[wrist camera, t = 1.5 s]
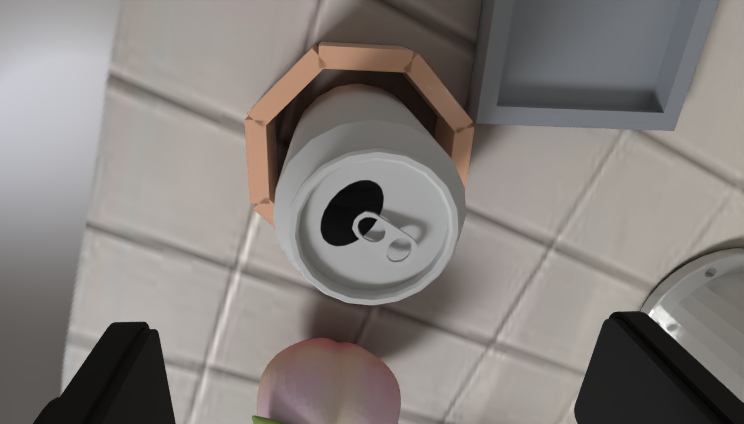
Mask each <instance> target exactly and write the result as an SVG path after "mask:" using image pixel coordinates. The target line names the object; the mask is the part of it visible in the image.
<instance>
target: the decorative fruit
mask: <svg viewBox="0 0 744 424" xmlns="http://www.w3.org/2000/svg"><path fill="white" fill-rule="evenodd" d="M400 406H401V397H400V389H399V385H398V382H397V380H396V378H395V376H394V374H393V373H392V371H391V370H390V369H389V368H388V366H387V365H386V364H385V363H384V362H383V361H381V360H380V359H379V358H378V357H376V356H375V355H374V354H372V353H371V352H369V351H368V350H366V349H364V348H363V347H361V346H359V345H356V344H353V343H350V342H342V343H337V342H335V341H333V340H331V339H328V338H314V339H309V340H305V341H302V342H299V343H296V344H294V345H292V346H290V347H288V348H286V349H284V350H283V351H281V352H280V353H279V354H277V355H276V356H275V357H274V358H273V359H272V360H271V361H270V363H269V364H268V365H267V367H266V369H265V370H264V372H263V374H262V377H261V380H260V384H259V390H258V398H257V416H252V420H253V423H254V424H398V420H399V415H400Z"/></svg>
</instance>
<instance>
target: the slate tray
mask: <svg viewBox="0 0 744 424" xmlns="http://www.w3.org/2000/svg"><path fill="white" fill-rule="evenodd" d="M718 2H719V0H482V7H481V14H480V21H479V28H478V35H477V42H476V49H475V56H474V63H473V70H472V77H471V84H470V91H469V98H468V105H467V112H466V113H467V115H468V116H469V117H470V119H471V120H472V121H473V122H474V123H476V124H498V125H526V126H554V127H582V128H610V129H638V130H666V131H674V130H675V127H676V124H677V121H678V118H679V115H680V112H681V110H682V107H683V104H684V101H685V98H686V95H687V92H688V89H689V86H690V83H691V80H692V77H693V75H694V72H695V69H696V66H697V63H698V60H699V57H700V54H701V51H702V48H703V45H704V42H705V40H706V37H707V34H708V31H709V28H710V25H711V22H712V19H713V16H714V13H715V10H716V7H717V5H718Z"/></svg>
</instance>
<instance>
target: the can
mask: <svg viewBox="0 0 744 424" xmlns="http://www.w3.org/2000/svg"><path fill="white" fill-rule="evenodd" d="M465 216H466V207H465V187H464V185H463V182H462V180H461V178H460V175H459V173H458V170H457V168H456V166H455V163H454V161H453V160H452V159H451V158H450V157H449V155H448V154H447V153H446V152H445V151H444V150H443V148H442V147H441V146H440V145H439V144H438V143H437V142H436V140H435V139H434V138H433V137H432V136H431V135H430V134H429V132H428V131H427V130H426V129H425V128H424V127H423V125H422V124H421V123H420V122H419V121H418V120H417V119H416V117H415V116H414V115H413V114H412V113H411V112H410V111H409V110H408V108H407V107H406V106H405V105H404V104H403V103H402V102H401V101H400V100H399V99H398V98H397V97H396V96H394V95H392V94H391V93H389V92H387V91H385V90H383V89H382V88H380V87H376V86H370V85H365V84H359V83H357V84H350V85H344V86H337V87H335V88H333V89H331V90H329V91H327V92H325V93H323V94H322V95H320V96H318V97H317V98H316V99H315V100H314V101H313V102H312V103H311V104H310V105H309V106H308V107H307V108H306V109H305V110H304V111H303V114H302V116H301V118H300V120H299V122H298V124H297V126H296V128H295V131H294V134H293V137H292V140H291V143H290V147H289V150H288V153H287V156H286V159H285V162H284V165H283V169H282V172H281V175H280V178H279V181H278V184H277V187H276V193H275V203H274V213H273V220H274V224H275V228H276V232H277V236H278V240H279V243H280V246H281V247H282V249H283V250H284V252H285V253H286V255H287V256H288V258H289V259H290V261H291V262H292V264H293V265H294V267H295V268H296V269H298V270H299V271H300V272H301V273H302V275H303V276H304V278H305V279H306V280H307V281H309V282H310V283H311V284H313V285H314V286H315V287H316V288H318V289H319V290H320V291H321V292H323V293H324V294H326V295H329V296H331V297H334V298H336V299H339V300H341V301H344V302H347V303H354V304H364V305H378V304H384V303H390V302H396V301H399V300H402V299H404V298H406V297H408V296H411V295H413V294H415V293H417V292H419V291H421V290H422V289H424V288H425V287H426V286H427V285H428V284H430V283H431V282H432V281H433V280H435V279H436V278H437V277H438V276H439V275H440V274H441V273H442V271H443V270H444V268H445V267H446V265H447V264H448V262H449V261H450V259H451V258H452V257H453V255H454V252H455V249H456V245H457V242H458V240H459V237H460V233H461V230H462V227H463V223H464V220H465Z"/></svg>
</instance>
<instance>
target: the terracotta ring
mask: <svg viewBox="0 0 744 424" xmlns="http://www.w3.org/2000/svg"><path fill="white" fill-rule="evenodd" d="M323 69H343V70H364V71H385V72H401V73H402V74H403V75H404V76H405V78H406V79H407V80H408V81H409V82H410V84H411V85H412V86H413V87H414V88H415V90H416V91H417V92H418V93H419V94H420V96H421V97H422V98H423V99H424V100H425V102H426V103H427V104H428V105H429V106H430V108H431V109H432V110H433V111H434V112H435V114H436V115H437V123H436V131H435V140H436V142H437V143H438V144H439V145H440V146H441V147H442V148H443V150H444V151H445V152H446V153H447V154H448V155H449V157H450V158H451V159H452V160H453V161H454V163H455V166H456V168H457V170H458V173H459V175H460V178H461V180H462V182H463V185H464V187H465V188H466V181H467V175H468V168H469V162H470V155H471V149H472V142H473V135H474V129H475V128H474V127H473V126H471V125H470V124H471V123H472V122H473V121H472V120H471V119H470V117H469V116H468V115H467V113H466V112H465V111H464V110H463V108H462V107H461V106H460V105H459V103H458V102H457V101H456V100H455V98H454V97H453V96H452V95H451V93H450V92H449V91H448V90H447V88H446V87H445V86H444V85H443V83H442V82H441V81H440V79H439V78H438V77H437V76H436V74H435V73H434V72H433V71H432V69H431V68H430V67H429V66H428V64H427V63H426V62H425V61H424V59H423V58H422V57H421V56H420V54H418V53H416V52H413V50H410V49H407V48H405V47H402V46H395V45H377V44H358V43H340V42H321V41H320V44H319V48H318V47H317V46H316V45H315V44H314V45H313V46H312V47H311V48H310V49H309V50H308V51H307V52H306V53H305V54H304V55H303V56H302V57H301V58H300V59H299V60H298V61H297V62H296V63H295V64H294V65H293V66H292V67H291V68H290V69H289V70H288V71H287V72H286V73H285V74H284V75H283V76H282V77H281V78H280V79H279V80H278V81H277V82H276V83H275V84H274V85H273V86H272V87H271V88H270V89H269V90H268V91H267V92H266V93H265V94H264V95H263V96H262V97H261V98H260V99H259V100H258V102H257V103H256V104H255V105H254V106H253V107H252V108H251V110H250V111H249V112H248V113H247V114H248V117H247V118H246V119H245V133H246V149H247V164H248V179H249V194H250V204H255V205H254V208H253V209H254V210H255V211H256V212H257V213H258V214H259V215H261V216H262V217H263V218H264V219H265V220H266V221H268V222H269V223H270V224H271V225H272V226H273V227H275V224H274V220H273V213H274V203H275V193H276V187H277V184H278V181H279V178H280V176H279V175H278V169H277V142H276V115H277V114H278V113H279V112H280V111H281V110H282V109H283V108H284V107H285V106H286V105H287V104H288V103H289V102H290V101H291V100H292V99H293V98H294V97H295V96H296V95H297V94H298V93H299V92H300V91H301V90H302V89H303V88H304V87H305V86H306V85H307V84H308V83H309V82H310V81H311V80H312V79H313V78H315V77H316V76H317V75H318V74H319V73H320V72H321V71H322V70H323Z"/></svg>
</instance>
